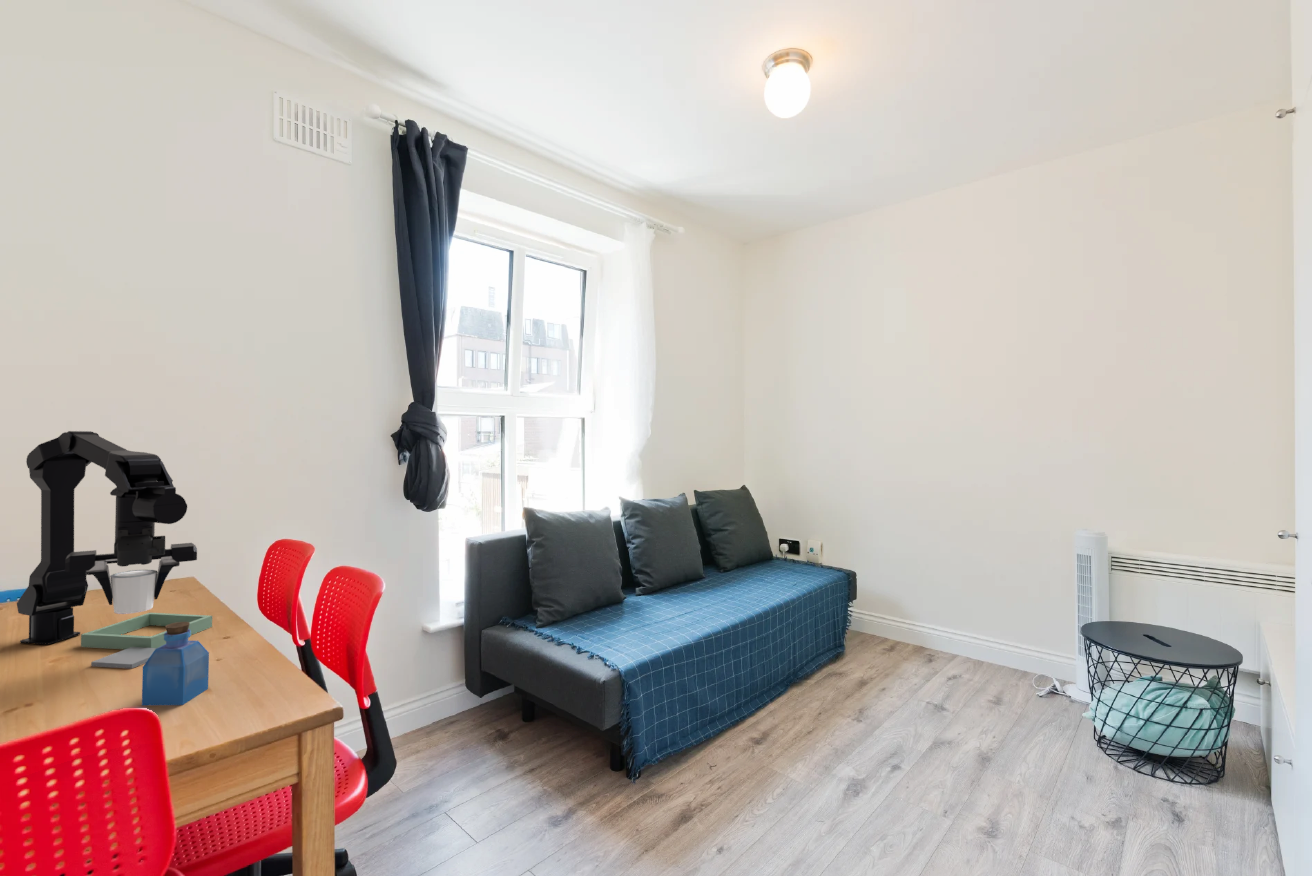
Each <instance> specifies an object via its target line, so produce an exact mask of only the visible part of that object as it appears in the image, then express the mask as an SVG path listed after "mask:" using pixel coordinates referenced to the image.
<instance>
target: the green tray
mask: <svg viewBox="0 0 1312 876" xmlns="http://www.w3.org/2000/svg"><path fill="white" fill-rule="evenodd" d="M176 622H189V623H190V624H189V628H188V629H190V630H191V636H193V635H195V634H197V632H198V633H200V632H203V631H205V630H209V629H210V627H211V628H213V615H208V614H207V615H204V614H203V615H202V614H186V613H184V614H183V613H164V612H147V613H144V614H141V615H138V616H134V617H132V618H129V619H126V620H121V621H119V622H115V623H113V624H109V625H107V626H103V627H101V628H96V629H94V630H91V631H87V632H84V633H82V634H81V633H80V647H81V648H92V649H93V648H97V649H111V650H112V649H113V650H114V649H115V650H125V649H128V648H130V647H144V648H159V647H161V646H163V645H165V644H166V641H165V640H164V633H166V632H167V631H166V630H164V631H162V632H160V633H156V634H154V635H151V636H150V635H133V634H132V635H131V634H128V633H131V632H134V631H137V630H139V629H143V628H145V627H149V626H155V625H156V626H157V627H158V626H159V627H165V626H166V625H168V624H171V623H176ZM142 627H143V628H142ZM127 632H128V633H127ZM121 634H122V635H121ZM192 634H193V635H192Z"/></svg>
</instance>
